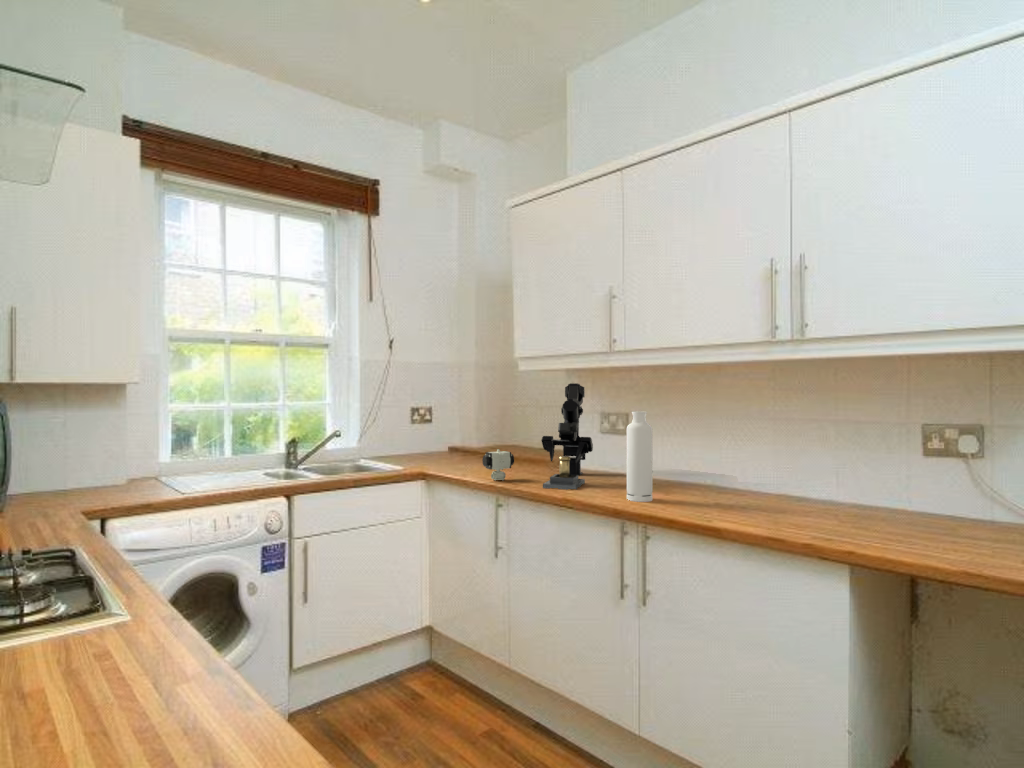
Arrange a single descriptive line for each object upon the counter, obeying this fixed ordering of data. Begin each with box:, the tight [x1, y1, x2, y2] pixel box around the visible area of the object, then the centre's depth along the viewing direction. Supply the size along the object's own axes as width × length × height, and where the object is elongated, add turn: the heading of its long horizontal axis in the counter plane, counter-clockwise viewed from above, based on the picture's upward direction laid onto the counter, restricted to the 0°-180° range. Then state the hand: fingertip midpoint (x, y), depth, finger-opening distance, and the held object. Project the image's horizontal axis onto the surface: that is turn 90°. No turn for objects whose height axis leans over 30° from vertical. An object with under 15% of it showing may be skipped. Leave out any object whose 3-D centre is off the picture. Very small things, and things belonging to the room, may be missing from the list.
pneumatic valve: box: [482, 449, 515, 481], centre depth 222 cm, size 6×12×12 cm, turn 116°
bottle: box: [626, 411, 653, 503], centre depth 183 cm, size 8×8×28 cm
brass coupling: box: [558, 455, 571, 478], centre depth 210 cm, size 4×4×9 cm
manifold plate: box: [542, 473, 586, 490], centre depth 210 cm, size 16×12×4 cm
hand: (563, 461), depth 209 cm, fingers open, 9 cm apart
